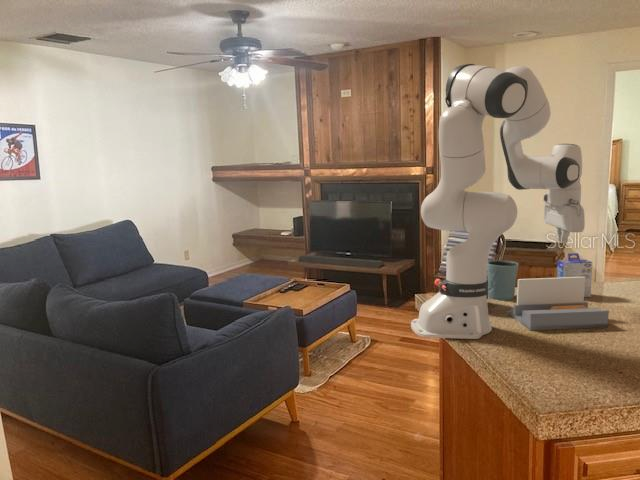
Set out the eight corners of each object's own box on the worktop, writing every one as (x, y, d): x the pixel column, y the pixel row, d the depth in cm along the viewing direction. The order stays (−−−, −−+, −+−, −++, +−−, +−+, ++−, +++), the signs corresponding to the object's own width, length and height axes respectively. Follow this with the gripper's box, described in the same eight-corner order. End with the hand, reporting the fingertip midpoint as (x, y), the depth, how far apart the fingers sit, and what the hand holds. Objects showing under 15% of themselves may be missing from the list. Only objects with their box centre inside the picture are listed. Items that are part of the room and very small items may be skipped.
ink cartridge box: (583, 293, 177) (585, 252, 174) (591, 297, 171) (594, 255, 169) (555, 293, 177) (556, 253, 175) (562, 298, 171) (564, 256, 169)
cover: (518, 279, 151) (517, 279, 152) (517, 304, 152) (516, 304, 153) (585, 277, 151) (583, 276, 152) (583, 302, 153) (582, 301, 154)
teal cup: (480, 294, 179) (481, 261, 177) (504, 291, 182) (505, 258, 180) (498, 302, 169) (499, 267, 167) (523, 298, 172) (525, 264, 170)
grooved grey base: (530, 330, 142) (530, 313, 141) (507, 312, 158) (508, 298, 157) (607, 327, 142) (609, 310, 141) (577, 310, 158) (578, 295, 157)
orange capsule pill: (546, 311, 152) (551, 318, 149) (549, 304, 150) (553, 311, 148) (583, 310, 152) (587, 317, 150) (585, 302, 150) (590, 309, 148)
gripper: (591, 200, 144) (589, 248, 147) (560, 194, 164) (558, 236, 167) (569, 201, 145) (567, 249, 147) (540, 195, 165) (539, 237, 167)
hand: (562, 242), depth 157 cm, fingers closed
